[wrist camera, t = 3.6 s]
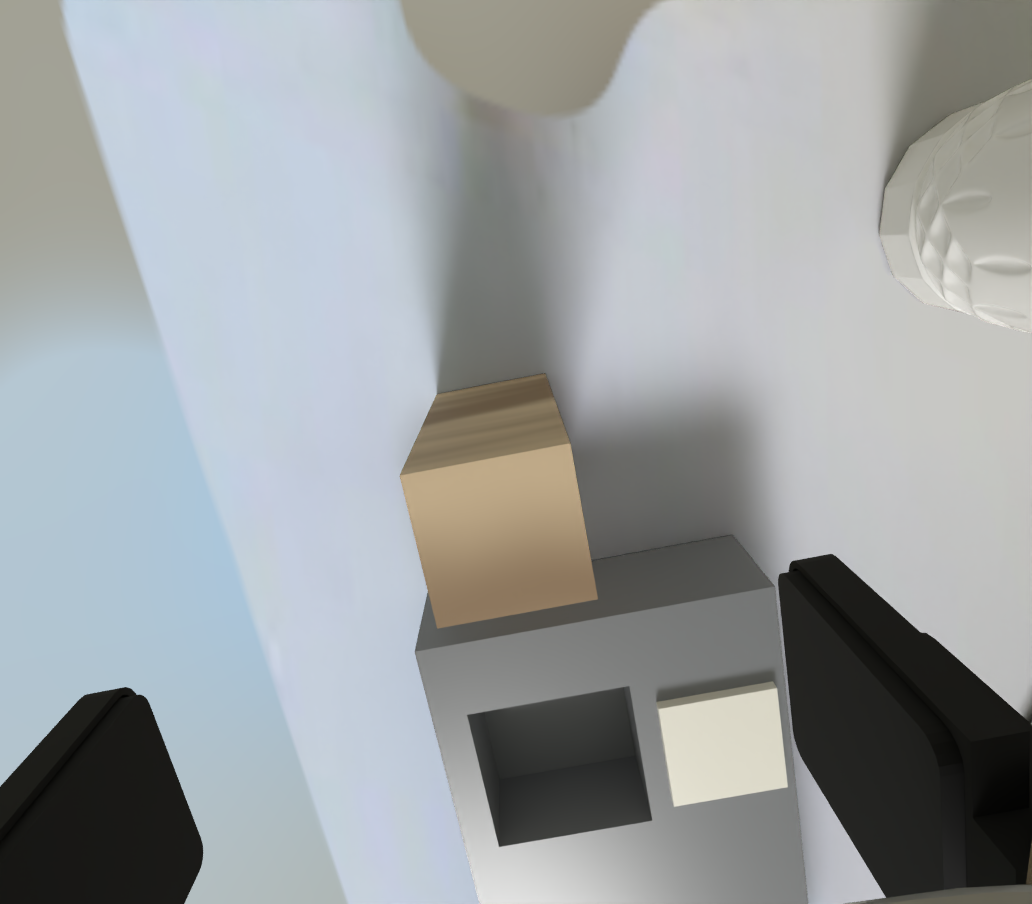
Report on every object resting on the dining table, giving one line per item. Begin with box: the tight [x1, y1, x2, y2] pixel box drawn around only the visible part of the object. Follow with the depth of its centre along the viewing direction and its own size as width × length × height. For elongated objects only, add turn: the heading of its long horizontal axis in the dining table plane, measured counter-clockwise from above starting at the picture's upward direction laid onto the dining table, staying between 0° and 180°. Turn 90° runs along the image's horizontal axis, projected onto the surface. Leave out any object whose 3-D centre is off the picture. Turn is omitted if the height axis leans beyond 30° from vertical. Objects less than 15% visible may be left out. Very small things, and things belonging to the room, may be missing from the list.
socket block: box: [415, 535, 808, 904], centre depth 29 cm, size 22×12×5 cm, turn 11°
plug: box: [400, 373, 598, 629], centre depth 22 cm, size 4×4×10 cm
